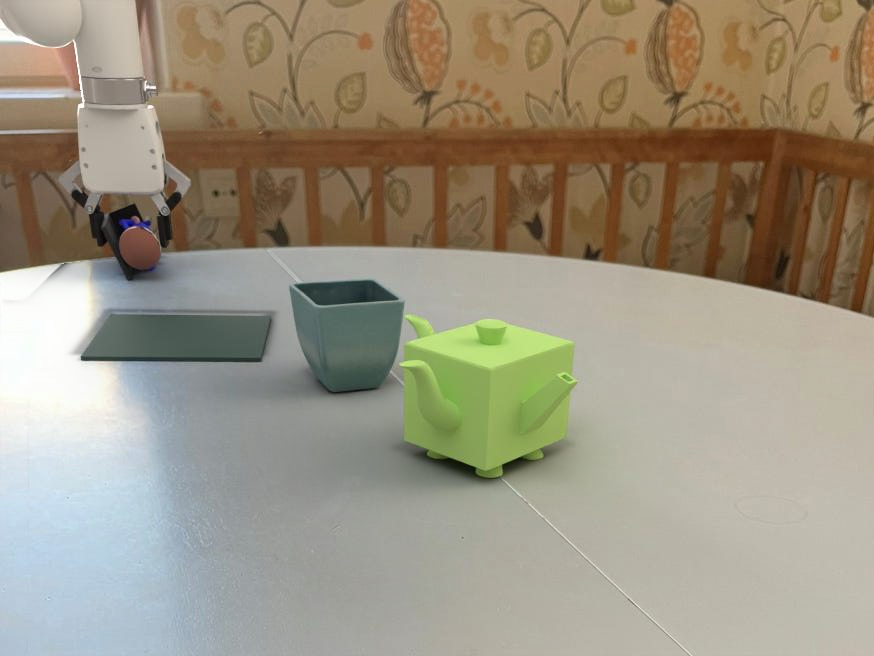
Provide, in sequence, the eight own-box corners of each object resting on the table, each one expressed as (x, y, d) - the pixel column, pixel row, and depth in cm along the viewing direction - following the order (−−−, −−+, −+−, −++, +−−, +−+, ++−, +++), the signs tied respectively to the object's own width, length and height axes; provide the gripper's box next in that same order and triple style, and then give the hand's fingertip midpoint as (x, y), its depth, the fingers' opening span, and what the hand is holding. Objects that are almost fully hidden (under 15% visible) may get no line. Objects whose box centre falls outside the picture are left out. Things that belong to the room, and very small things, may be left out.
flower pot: (406, 393, 101) (407, 298, 97) (319, 403, 98) (315, 305, 93) (374, 366, 108) (373, 276, 103) (292, 375, 105) (286, 282, 100)
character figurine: (164, 259, 146) (161, 287, 134) (109, 255, 144) (101, 282, 132) (162, 200, 142) (159, 222, 129) (106, 195, 140) (97, 217, 128)
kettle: (399, 489, 82) (399, 347, 76) (392, 425, 94) (391, 298, 88) (586, 487, 84) (600, 348, 78) (556, 425, 96) (566, 300, 90)
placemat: (81, 360, 106) (80, 356, 106) (111, 317, 120) (111, 313, 119) (261, 361, 108) (260, 357, 108) (271, 319, 121) (271, 315, 121)
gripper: (190, 93, 132) (205, 240, 141) (47, 88, 130) (71, 238, 139) (182, 98, 125) (198, 252, 135) (32, 93, 124) (58, 250, 133)
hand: (133, 244), depth 137 cm, fingers closed on character figurine, 7 cm apart
